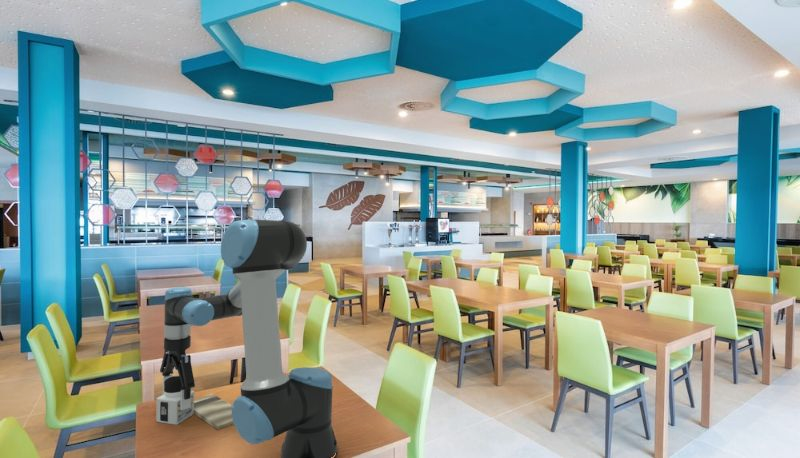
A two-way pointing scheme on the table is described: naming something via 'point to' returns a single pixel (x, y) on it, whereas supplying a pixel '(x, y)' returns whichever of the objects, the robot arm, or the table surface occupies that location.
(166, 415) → the container
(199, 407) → the metal panel
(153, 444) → the table surface
